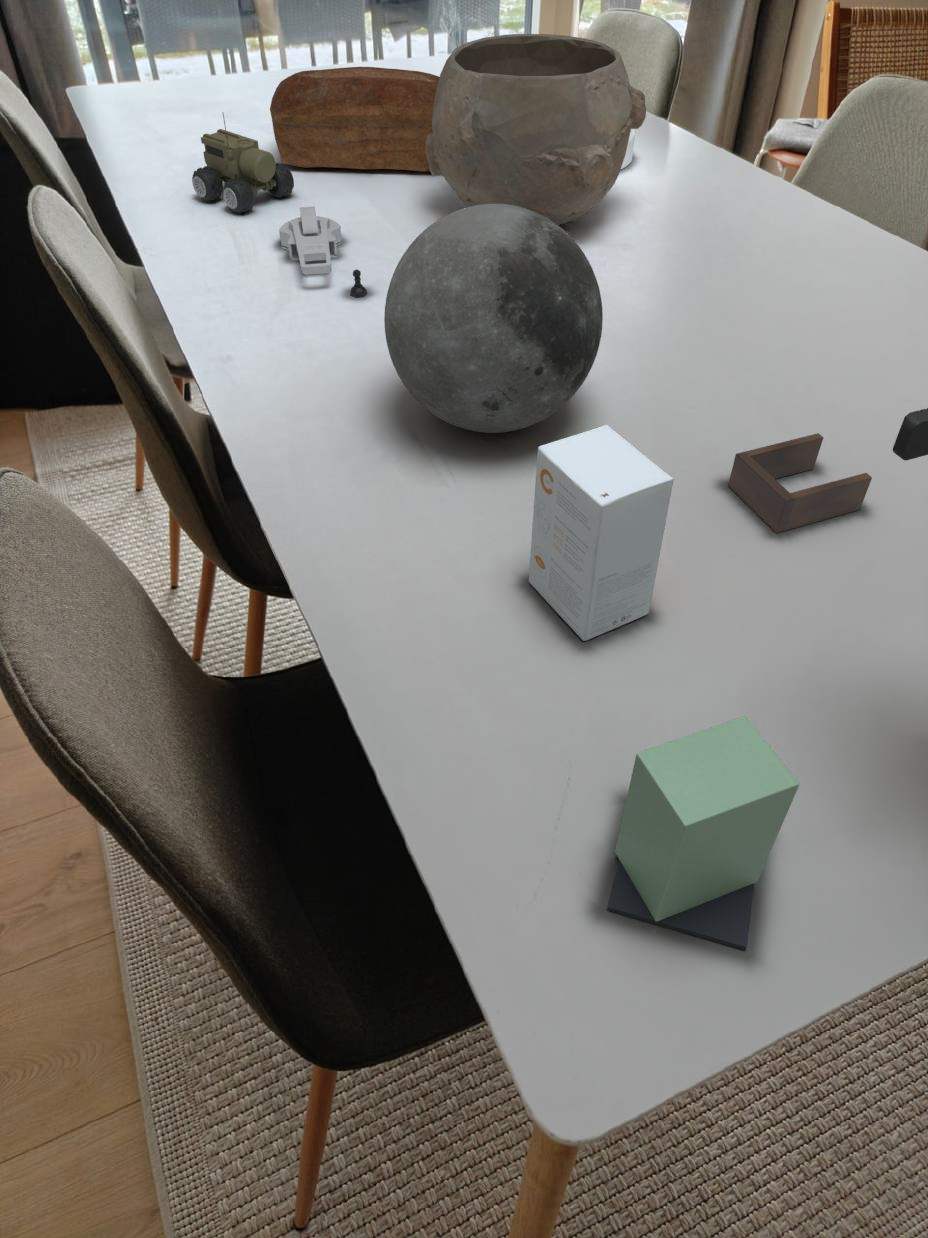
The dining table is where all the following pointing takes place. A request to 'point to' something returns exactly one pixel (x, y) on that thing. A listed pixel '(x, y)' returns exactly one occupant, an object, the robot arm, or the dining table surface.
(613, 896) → the rubber mat
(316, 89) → the bread
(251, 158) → the toy vehicle
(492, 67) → the bowl
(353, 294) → the chess pawn
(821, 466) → the dining table surface
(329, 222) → the zipper pull
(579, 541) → the small box
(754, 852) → the green rectangular block
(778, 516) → the u-shaped bracket
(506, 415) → the decorative sphere
